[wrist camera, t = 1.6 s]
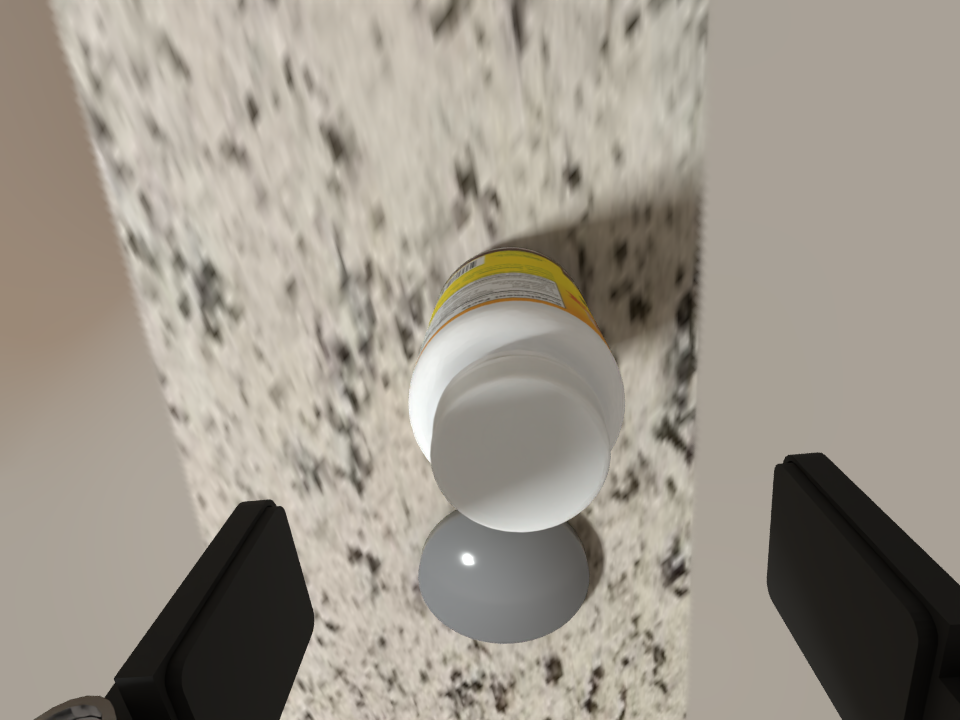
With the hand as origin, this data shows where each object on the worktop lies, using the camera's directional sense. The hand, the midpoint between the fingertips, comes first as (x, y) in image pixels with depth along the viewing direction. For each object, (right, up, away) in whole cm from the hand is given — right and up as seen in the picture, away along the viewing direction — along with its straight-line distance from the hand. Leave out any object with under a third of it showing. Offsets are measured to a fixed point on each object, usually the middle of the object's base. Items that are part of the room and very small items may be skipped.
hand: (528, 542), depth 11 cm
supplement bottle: (0, +5, +11) cm, 12 cm away
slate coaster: (0, -6, +16) cm, 17 cm away
